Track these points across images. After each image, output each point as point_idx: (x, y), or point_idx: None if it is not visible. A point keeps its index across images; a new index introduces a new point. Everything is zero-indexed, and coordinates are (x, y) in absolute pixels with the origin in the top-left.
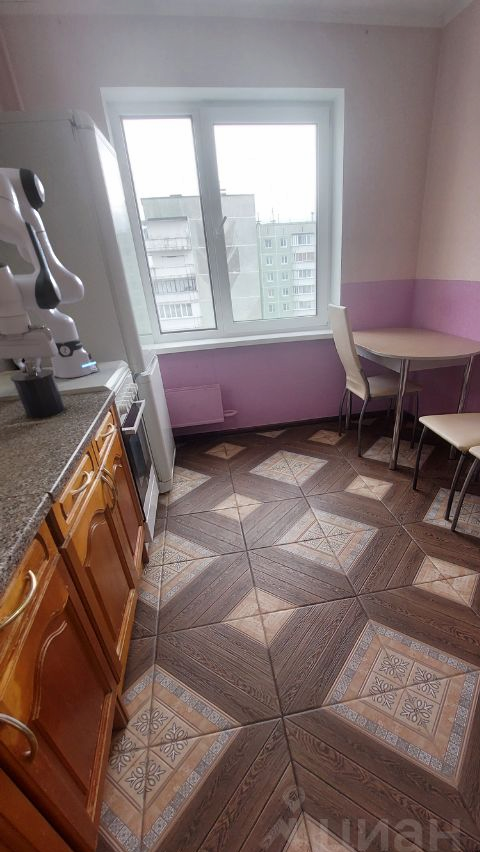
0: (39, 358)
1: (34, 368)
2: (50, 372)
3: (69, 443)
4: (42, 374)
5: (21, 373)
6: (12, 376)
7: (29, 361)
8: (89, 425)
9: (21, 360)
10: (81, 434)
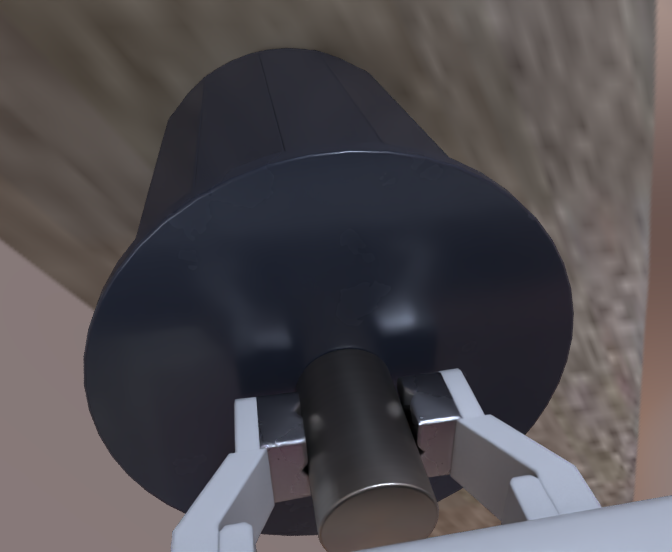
0: (587, 506)
1: (446, 462)
2: (537, 297)
3: (600, 459)
4: (473, 371)
5: (145, 367)
6: (134, 465)
7: (400, 514)
8: (643, 315)
9: (253, 538)
10: (627, 395)
